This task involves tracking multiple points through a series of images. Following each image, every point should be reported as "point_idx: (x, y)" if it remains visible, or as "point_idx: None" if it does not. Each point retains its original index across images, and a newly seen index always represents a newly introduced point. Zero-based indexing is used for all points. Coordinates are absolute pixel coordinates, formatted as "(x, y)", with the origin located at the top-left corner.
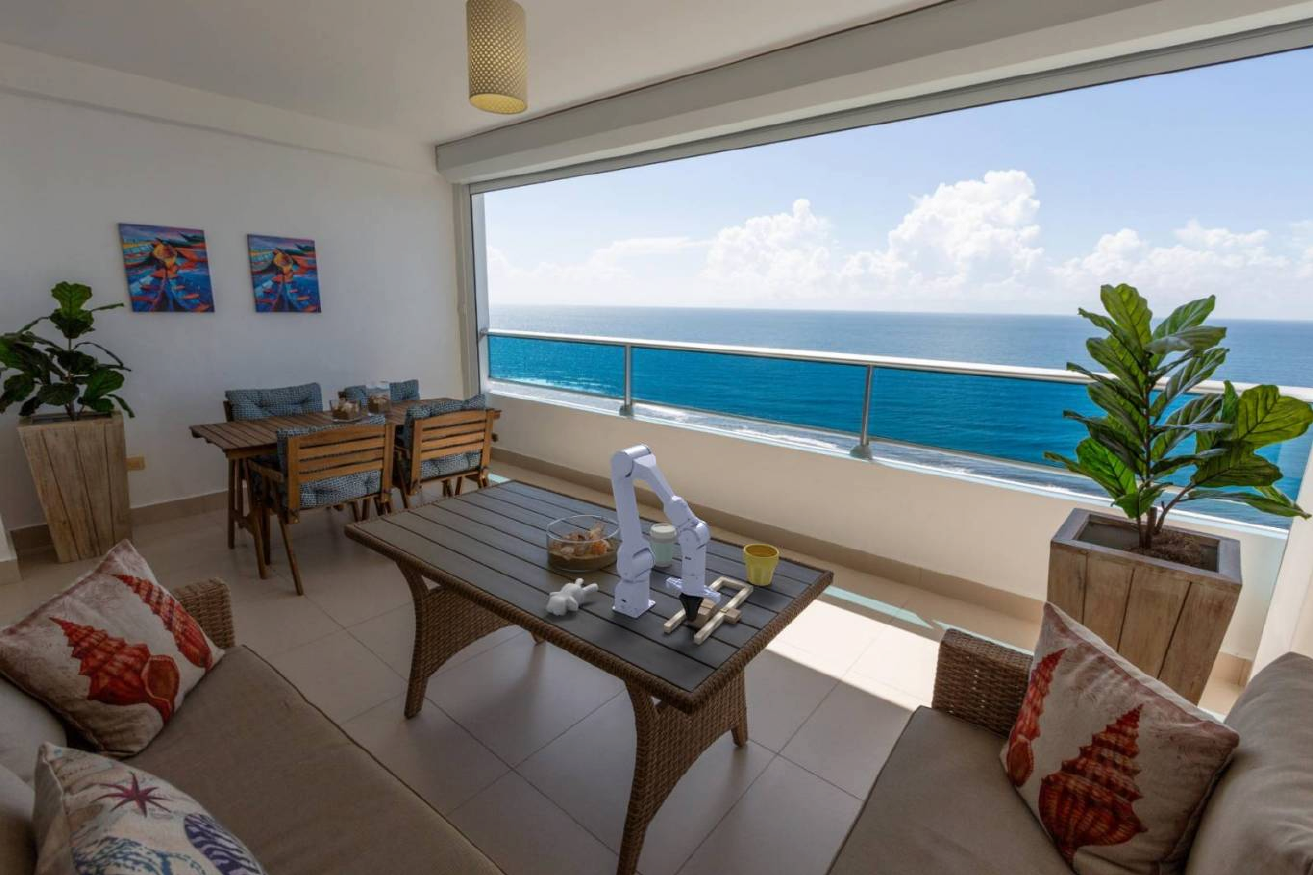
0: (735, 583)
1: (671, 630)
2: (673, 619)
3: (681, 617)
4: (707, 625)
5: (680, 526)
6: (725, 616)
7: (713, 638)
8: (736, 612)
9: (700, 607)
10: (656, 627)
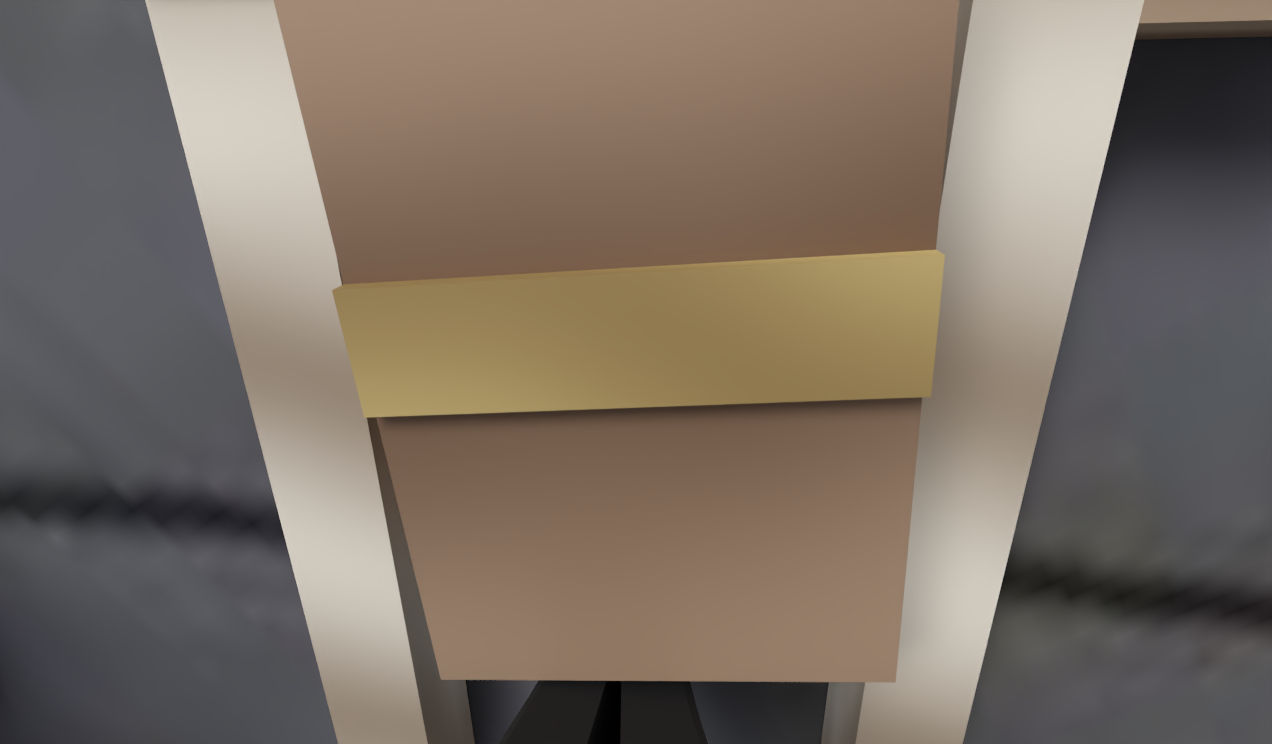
0: None
1: (466, 723)
2: (365, 696)
3: (405, 563)
4: (916, 596)
5: None
6: (1153, 25)
7: (1022, 600)
8: None
9: (620, 464)
10: (286, 720)
